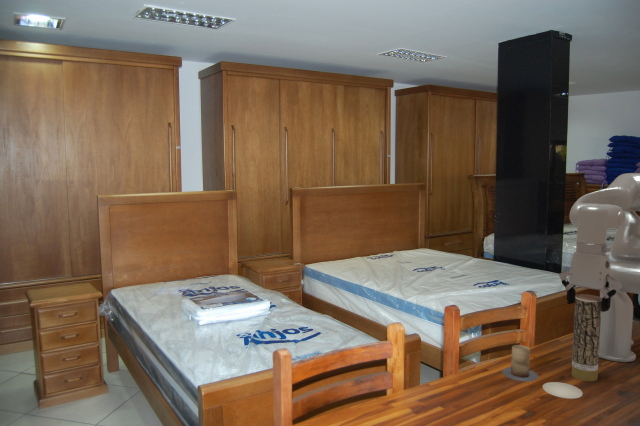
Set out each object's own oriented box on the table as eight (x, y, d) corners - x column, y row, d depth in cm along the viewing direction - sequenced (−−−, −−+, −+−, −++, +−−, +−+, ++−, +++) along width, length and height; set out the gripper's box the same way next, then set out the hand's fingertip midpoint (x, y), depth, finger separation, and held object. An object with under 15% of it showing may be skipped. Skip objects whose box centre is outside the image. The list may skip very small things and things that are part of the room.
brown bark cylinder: (600, 385, 144) (605, 301, 141) (575, 383, 145) (579, 299, 143) (592, 376, 150) (597, 294, 148) (568, 374, 152) (572, 293, 149)
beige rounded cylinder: (517, 369, 153) (518, 343, 152) (532, 374, 149) (533, 348, 148) (507, 373, 150) (508, 347, 149) (522, 379, 146) (523, 352, 145)
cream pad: (554, 379, 146) (554, 379, 146) (589, 392, 137) (589, 391, 137) (535, 388, 140) (535, 388, 140) (570, 402, 132) (570, 401, 132)
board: (516, 367, 157) (516, 363, 157) (591, 394, 138) (591, 390, 138) (493, 376, 150) (493, 373, 150) (568, 407, 131) (568, 402, 131)
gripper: (629, 251, 139) (625, 312, 140) (568, 243, 153) (565, 298, 154) (616, 254, 134) (612, 316, 136) (554, 246, 148) (552, 302, 150)
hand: (587, 307), depth 145 cm, fingers open, 9 cm apart
